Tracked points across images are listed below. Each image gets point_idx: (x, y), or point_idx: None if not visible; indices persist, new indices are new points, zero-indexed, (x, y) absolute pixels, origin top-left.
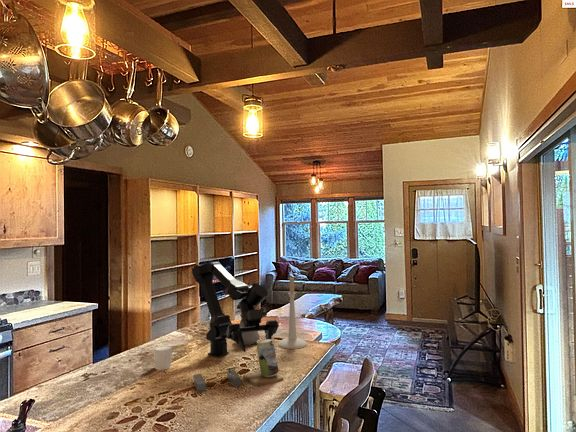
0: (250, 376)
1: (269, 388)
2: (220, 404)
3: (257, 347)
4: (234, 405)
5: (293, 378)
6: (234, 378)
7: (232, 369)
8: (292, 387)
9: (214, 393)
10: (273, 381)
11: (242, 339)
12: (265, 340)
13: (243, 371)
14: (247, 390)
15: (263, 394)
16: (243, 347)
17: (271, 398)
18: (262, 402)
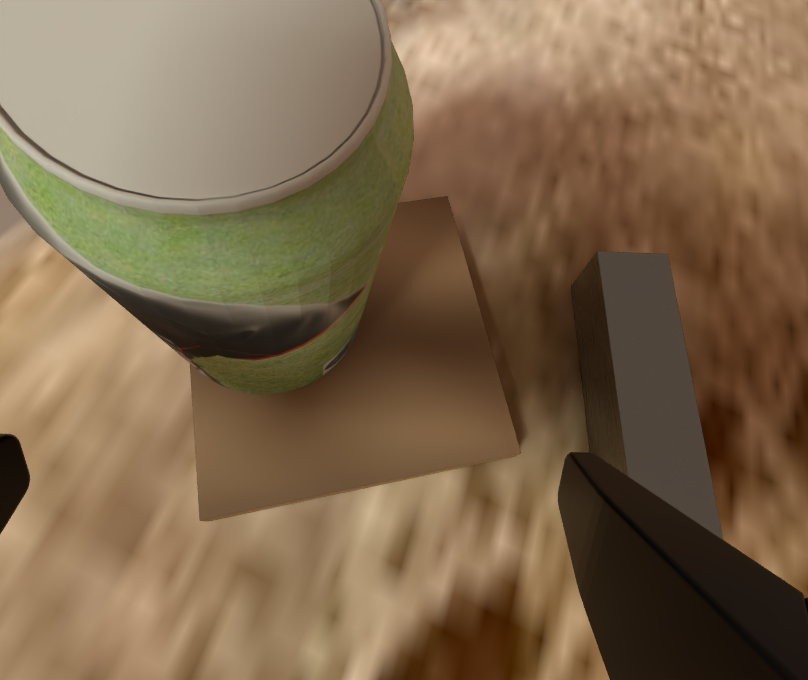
0: (455, 388)
1: None
2: (740, 74)
3: (412, 114)
4: (658, 35)
5: None
6: (659, 255)
7: None
8: None
9: (786, 231)
10: None
11: (796, 659)
12: (125, 86)
13: (461, 669)
14: (539, 183)
15: (451, 88)
16: (642, 488)
17: (424, 26)
18: (493, 7)
